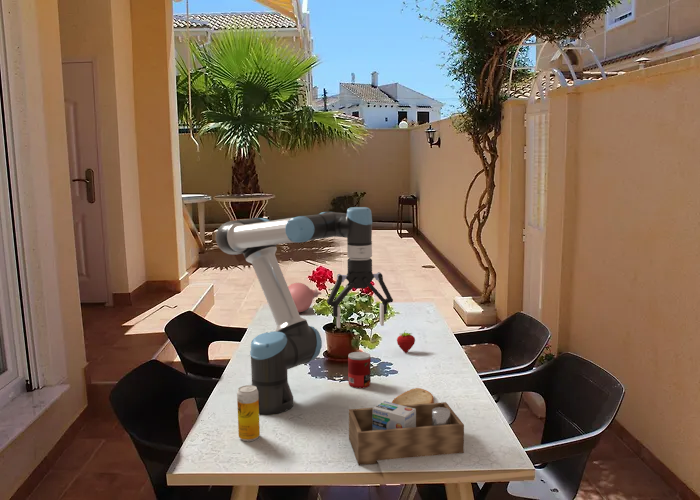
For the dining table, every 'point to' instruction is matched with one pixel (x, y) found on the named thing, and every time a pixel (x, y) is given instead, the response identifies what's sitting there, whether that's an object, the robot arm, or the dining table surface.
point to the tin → (440, 416)
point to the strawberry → (405, 341)
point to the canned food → (359, 369)
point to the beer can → (248, 413)
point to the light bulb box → (393, 416)
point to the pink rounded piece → (302, 296)
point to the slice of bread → (414, 397)
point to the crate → (404, 436)
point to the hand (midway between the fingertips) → (360, 325)
